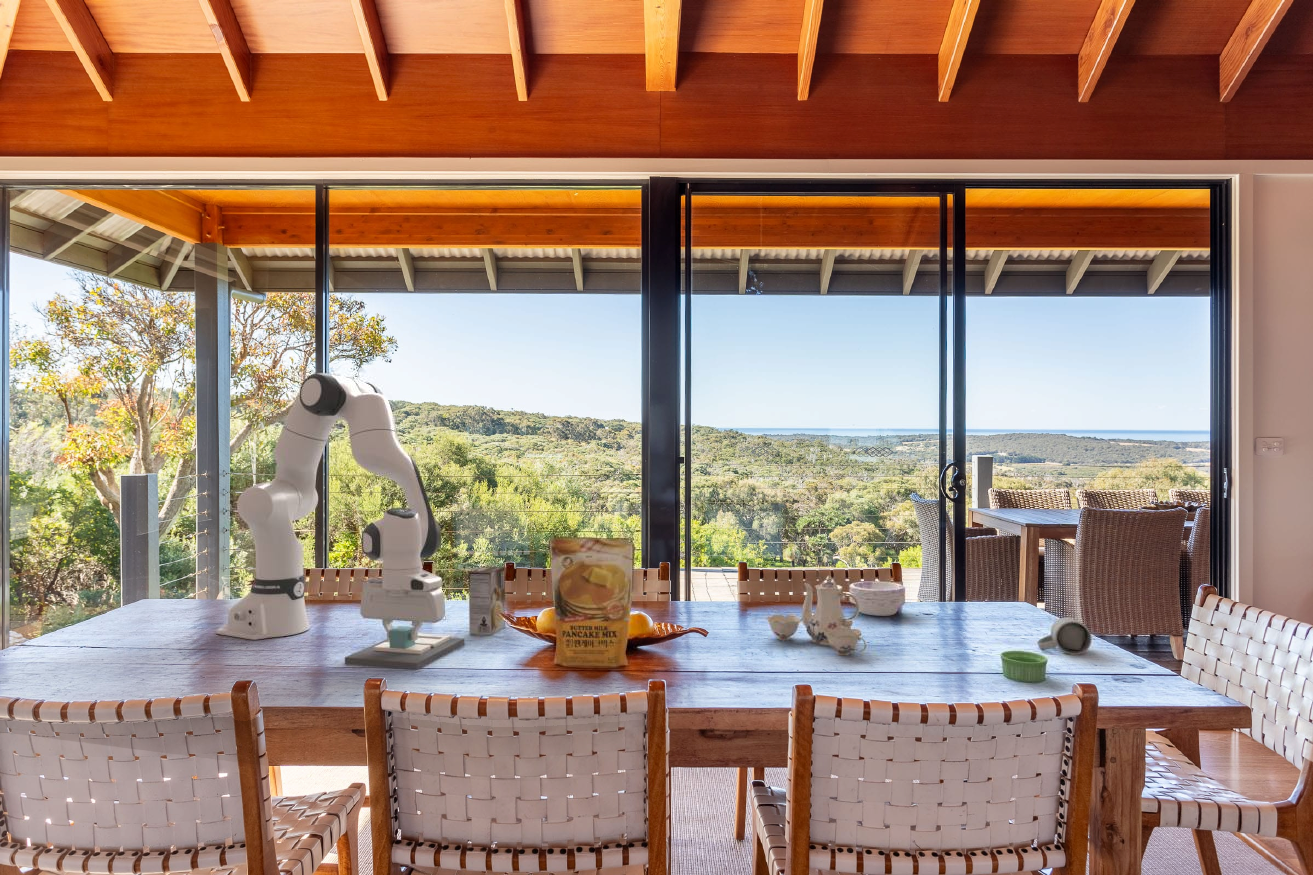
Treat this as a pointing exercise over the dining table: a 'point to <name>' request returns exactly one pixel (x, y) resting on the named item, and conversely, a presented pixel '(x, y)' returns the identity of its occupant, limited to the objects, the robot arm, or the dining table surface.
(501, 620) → the coffee box
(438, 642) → the board
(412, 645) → the stub
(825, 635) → the chinaware
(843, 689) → the dining table surface
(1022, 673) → the ramekin
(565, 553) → the pancake mix bag
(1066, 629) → the ceramic mug
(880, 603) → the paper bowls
